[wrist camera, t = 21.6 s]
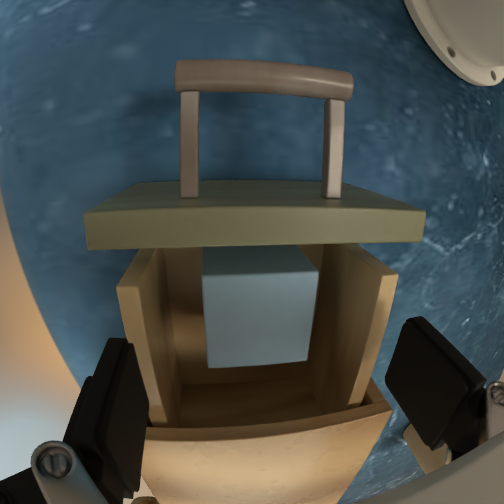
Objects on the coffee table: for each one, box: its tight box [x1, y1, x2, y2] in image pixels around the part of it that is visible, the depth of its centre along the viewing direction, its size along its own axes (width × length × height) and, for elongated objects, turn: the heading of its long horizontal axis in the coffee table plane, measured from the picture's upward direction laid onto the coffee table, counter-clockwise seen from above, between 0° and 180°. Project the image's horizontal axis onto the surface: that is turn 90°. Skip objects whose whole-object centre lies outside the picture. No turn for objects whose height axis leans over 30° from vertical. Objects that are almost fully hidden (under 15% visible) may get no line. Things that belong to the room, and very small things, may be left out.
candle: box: [403, 424, 447, 475], centre depth 24 cm, size 6×6×10 cm
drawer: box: [83, 59, 426, 428], centre depth 13 cm, size 18×11×7 cm, turn 179°
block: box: [201, 245, 319, 368], centre depth 14 cm, size 4×4×4 cm
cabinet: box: [141, 377, 393, 504], centre depth 17 cm, size 15×13×9 cm
